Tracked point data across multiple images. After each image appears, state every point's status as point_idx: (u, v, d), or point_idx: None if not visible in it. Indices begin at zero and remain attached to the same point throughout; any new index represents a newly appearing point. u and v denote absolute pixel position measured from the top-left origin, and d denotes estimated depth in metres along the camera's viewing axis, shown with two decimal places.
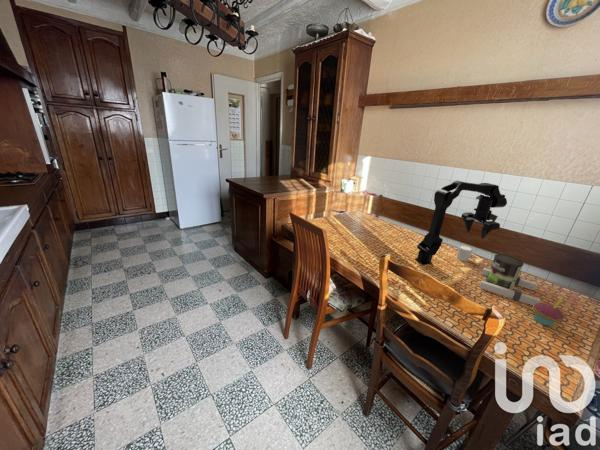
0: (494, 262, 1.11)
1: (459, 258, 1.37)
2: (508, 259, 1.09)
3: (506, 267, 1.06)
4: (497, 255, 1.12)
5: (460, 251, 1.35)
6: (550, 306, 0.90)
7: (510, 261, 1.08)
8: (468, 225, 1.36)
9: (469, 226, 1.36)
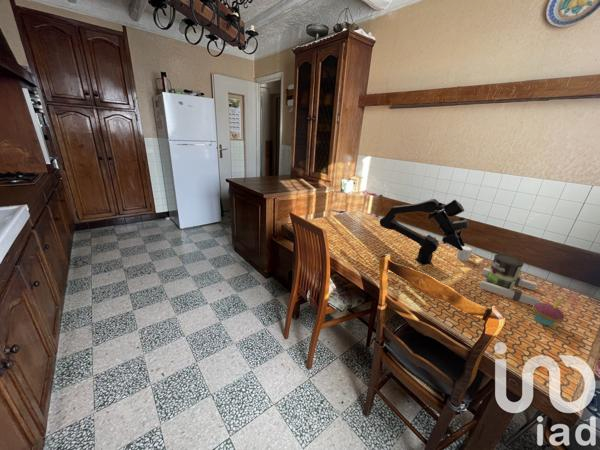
0: (494, 262, 1.11)
1: (459, 258, 1.37)
2: (508, 259, 1.09)
3: (506, 267, 1.06)
4: (497, 255, 1.12)
5: (460, 251, 1.35)
6: (550, 306, 0.90)
7: (510, 261, 1.08)
8: None
9: (459, 240, 1.23)
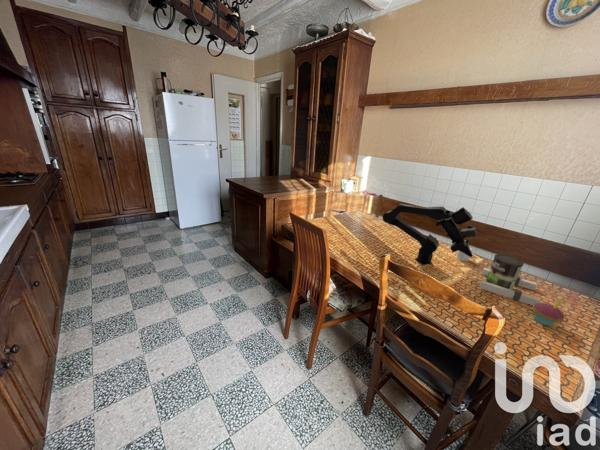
0: (494, 262, 1.11)
1: (459, 258, 1.37)
2: (508, 259, 1.09)
3: (506, 267, 1.06)
4: (497, 255, 1.12)
5: (460, 251, 1.35)
6: (550, 306, 0.90)
7: (510, 261, 1.08)
8: None
9: None
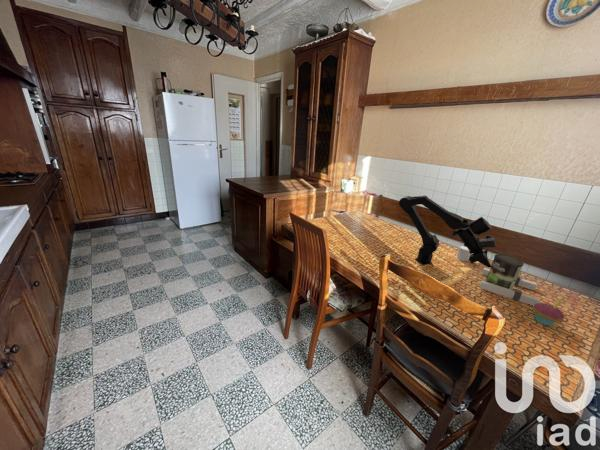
0: (494, 262, 1.11)
1: (459, 258, 1.37)
2: (508, 259, 1.09)
3: (506, 267, 1.06)
4: (497, 255, 1.12)
5: (460, 251, 1.35)
6: (550, 306, 0.90)
7: (510, 261, 1.08)
8: None
9: None
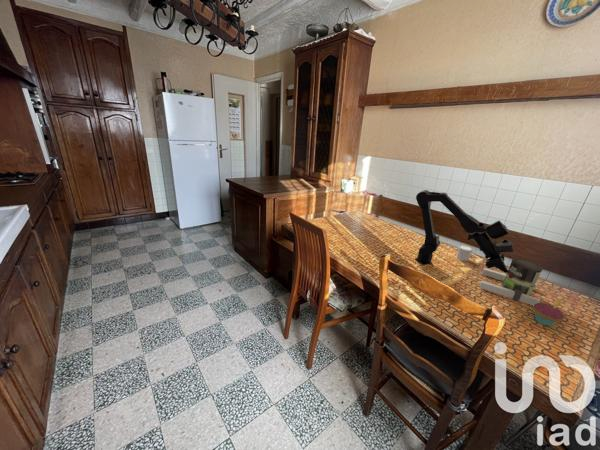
0: (511, 266, 1.08)
1: (459, 258, 1.37)
2: (526, 264, 1.06)
3: (523, 272, 1.03)
4: (514, 259, 1.09)
5: (460, 251, 1.35)
6: (550, 306, 0.90)
7: (528, 266, 1.04)
8: None
9: None
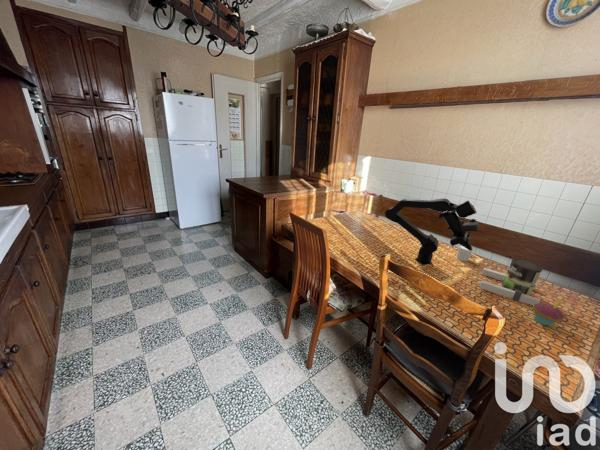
0: (511, 266, 1.08)
1: (459, 258, 1.37)
2: (526, 264, 1.06)
3: (523, 272, 1.03)
4: (514, 259, 1.09)
5: (460, 251, 1.35)
6: (550, 306, 0.90)
7: (528, 266, 1.04)
8: None
9: None
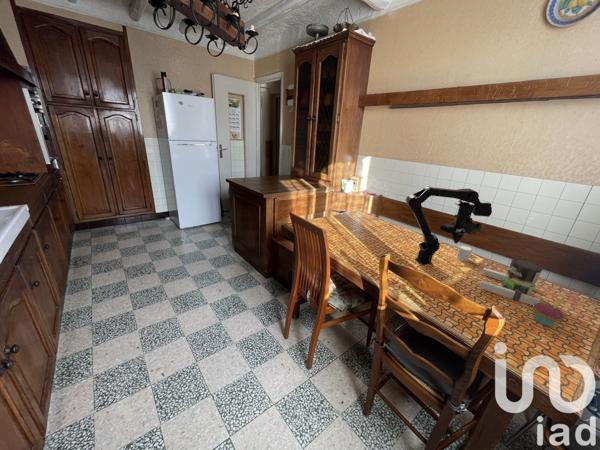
0: (511, 266, 1.08)
1: (459, 258, 1.37)
2: (526, 264, 1.06)
3: (523, 272, 1.03)
4: (514, 259, 1.09)
5: (460, 251, 1.35)
6: (550, 306, 0.90)
7: (528, 266, 1.04)
8: None
9: None
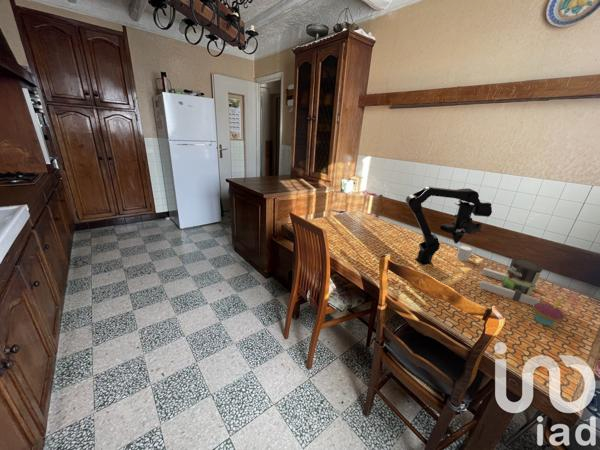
0: (511, 266, 1.08)
1: (459, 258, 1.37)
2: (526, 264, 1.06)
3: (523, 272, 1.03)
4: (514, 259, 1.09)
5: (460, 251, 1.35)
6: (550, 306, 0.90)
7: (528, 266, 1.04)
8: None
9: None
